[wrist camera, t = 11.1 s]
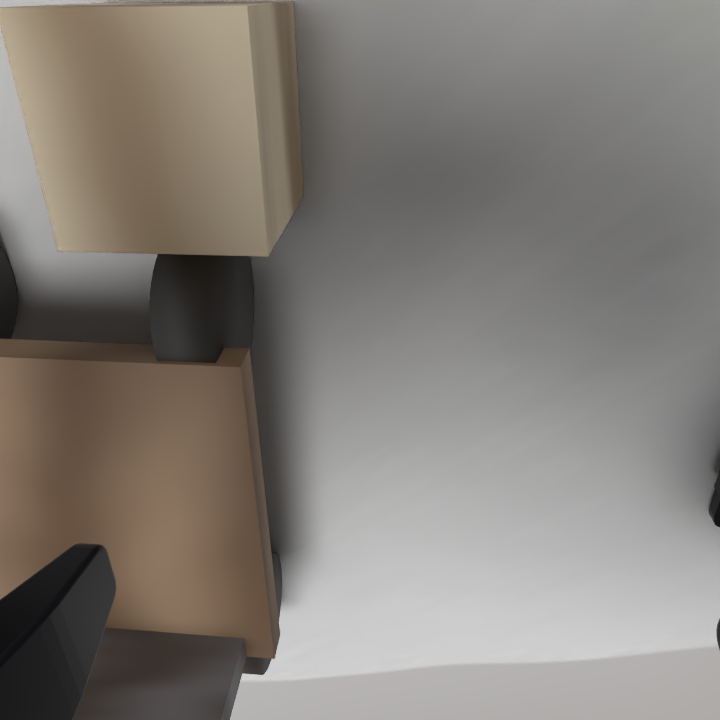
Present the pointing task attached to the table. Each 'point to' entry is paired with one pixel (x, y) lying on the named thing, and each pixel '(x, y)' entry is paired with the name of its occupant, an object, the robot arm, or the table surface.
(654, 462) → the table surface
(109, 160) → the beige cube
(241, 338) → the trolley
